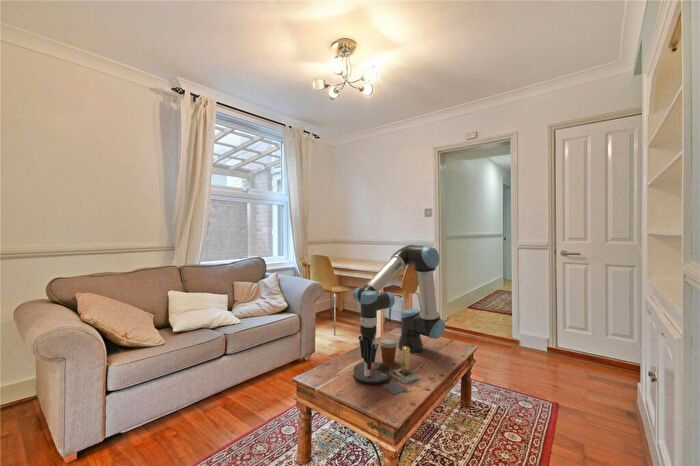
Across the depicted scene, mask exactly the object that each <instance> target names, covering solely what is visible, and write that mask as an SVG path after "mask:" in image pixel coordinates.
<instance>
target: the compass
mask: <svg viewBox="0 0 700 466" xmlns="http://www.w3.org/2000/svg"><path fill="white" fill-rule="evenodd" d="M353 377H354V378H356V380H358V381H361V382H362V383H366V384H381V383H384V382H387V381H388V380H389V379H390V377H391V369H390V367H389V366H388V365H385V364H383V362H379V361H375V362H372V363H371V375H370V376H365V375H364V361H363V362H359V363H357V364H356V365H355V366H354V367H353Z"/></svg>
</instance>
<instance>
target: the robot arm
mask: <svg viewBox="0 0 700 466" xmlns="http://www.w3.org/2000/svg"><path fill="white" fill-rule="evenodd" d="M439 262H440V255H439V252H438V250H437V249H436V248H435V247H434V246H430V245H414V244H409V245H405V246H403V247H401V248H400V249H398V250H397V251H395V252H394V253H393V254H392V255H391V256H390V260H388V262H386V264H384V265H383V267H382V268H380V270H378V271H377V273H376V274H374V275H373V277H372V278H371V279H370V280H368V282H366V284H364V286H363V287H357V288H356V287H355V289H354V291H353V293H352V297H353V300H354V301H355V302H356V303H360V327H359V328H360V329H359V330H360V331H359V332H360V335H358V341H359V349H360V357H361V359H363V362H364V375H365V376H370V375H371V363H372V362H376V355H377V350H378V347H379V344H378V342H376V339H375V336H376V335H377V323H378V322H377V321H378V320H377V318H378V317H377V316H378V315H377V314H378V312H379V311H382V310H385V309H389V308H392V307H393V306H394V305H395V301H396V299H395V295H394V294H393V293H392V292H389V291H385V292H381V291H382V289H383V288H384V287H385V286H386V285H387V284H388V283H389V281H390V280H392V279H393V277H394V276H395V275H396V274H397V273H398V272H399V271H400V270H402V269H404V268H405V267H406V266H414V271H415V272H416V273H417V279H418V280H417V281H418V287H419V288H418V290H419V300H420V309H415V308H414V309H412V308H411V309H405V310H403V311H401V317H400V319H401V321H400V323H401V324H400V329H401V330H400V331H401V332H400V336H399V340H398V342H397V347H398V348H399V350H401V351H402V346H408V347H410V353H421V351H423V349H424V344H423V339H422V336H424V337H428V338H429V339H433V340H434V339H435V340H438V339H440V338H441V337H442V335H443V334H444V331H445V329H446V323H445V320H444V319H442V318H441V316H440V315H441V314H440V313H439V312H438V311H437V299H436V288H435V277H434V272H435V271H436V268H437V267H438V266H439V264H440V263H439Z"/></svg>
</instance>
